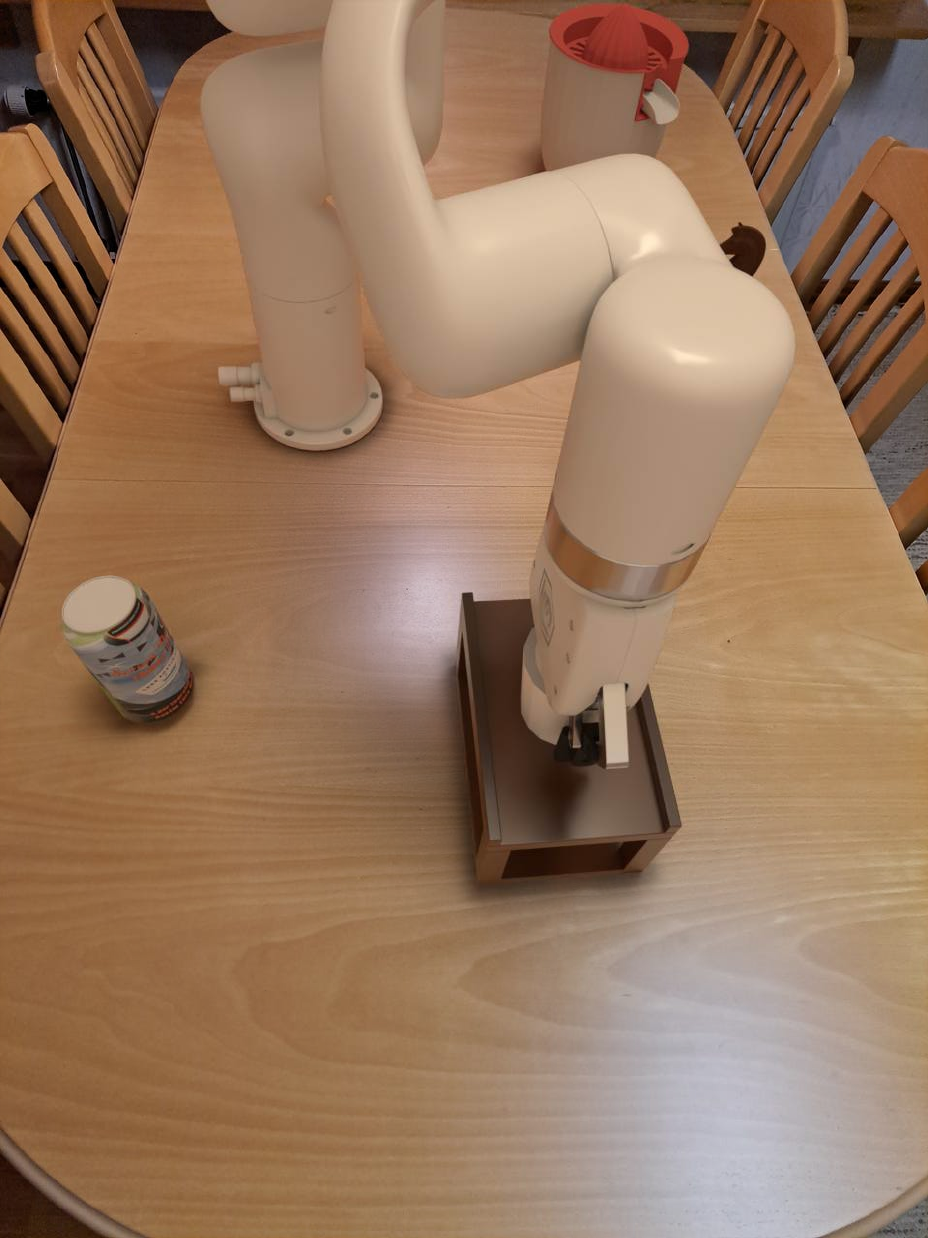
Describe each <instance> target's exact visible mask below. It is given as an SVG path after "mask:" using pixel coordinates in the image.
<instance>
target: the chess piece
mask: <svg viewBox="0 0 928 1238" xmlns="http://www.w3.org/2000/svg"><path fill="white" fill-rule="evenodd" d="M737 224H738V225H737V226H733V227H731V229H730V231H731V235H730V237H728V238H726V239H725V240H724V241H722V242H721V243H719V245H720V247H721V249H722V250H723V252H724V253H725V255H726V256H732V257H730V258H728V259H729V261H730V262H731V264H732V265H733V267H734V268H736V269H738V270H740V271H742V272H745V273H747V274H748V275H750V276H752V277H753V278H754V275H755V273H756V272H757V271H758V269H759V268H760V266H761V264H762V262H763V260H764V258H765V255H766V250H767V241H766V237H765V236H764V233H762V232H761V231H760V230H759V229H757V228H755V227H753V226H751V225H744V224H743V223H741V221H738V222H737Z"/></svg>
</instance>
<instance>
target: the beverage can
mask: <svg viewBox="0 0 928 1238" xmlns="http://www.w3.org/2000/svg"><path fill="white" fill-rule="evenodd" d="M61 618H62V620H61V629H62V630H61V631H62V635H63V637H64V639H65V641H66V642H67V644H68V645H69V646H70V648H71V649H72V650H73V652H74V653H75V655H76V656H77V657H78V659H79V660H80V661H81V662H82V664H83V665H84V667H85V668H86V669H87V670H88V672H89V673H90V675H91V676H92V677H93V679H94V680H95V682H96V683H97V684H98V686H99V687H100V688H101V690H102V692H104V694H105V695H106V696H107V698H108V699H109V700H110V702H111V704H113V706H114V707H115V709H116V710H117V711H118V712H119V714H120V715H121V716H122V717H123V718H125V719H126V720H127V721H130V722H133V723H137V724H152V723H158V722H160V721H163V720H166V719H168V718H170V717H172V716H173V715H175V714H176V713H177V712H179V710H181V709H182V708H183V707H184V706H185V705H186V704H187V702H188V700H189V699H190V698H191V696H192V693H193V691H194V685H195V678H194V674H193V672H192V670H191V668H190V666H189V665H188V662H187V661H186V659H185V657H184V655H183V654H182V653H181V650H180V649H179V647H178V645H177V643H176V642H175V640H174V638H173V636H172V635H171V633H170V630H169V629H168V628H167V626H166V624H165V622H164V620H163V619H162V617H161V616H160V613H159V612H158V610H157V608H156V607H155V605H154V603H153V601H152V599H151V598H150V596H149V594H148V593H147V592H146V591H145V590H144V588H142V587H140V586H138V585H137V584H135V583H133V582H131V581H129V580H127V579H126V578H123V577H121V576H117V575H102V576H97V577H94V578H91V579H89V580H86V581H84V582H83V583H81V584H79V585H78V586H76V587H75V588H74V589H73V590H72V591H71V592H70V593H69V594H68V595H67V597H66V598H65V600H64V602H63V604H62V607H61Z"/></svg>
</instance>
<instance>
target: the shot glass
mask: <svg viewBox="0 0 928 1238" xmlns="http://www.w3.org/2000/svg"><path fill="white" fill-rule="evenodd" d="M521 714H522V716H523V718H524V720H525V722H526V724H527V726H528V728H529V729H530V730H531V731H532V732H533V733H535V734H536V735H537V736H538V737H539V738H540V739H542V740H545V741H547V742H550V743H552V744H555V745H556V744H557V741H558V738H559V736H560V733H561V730H562V728H563V727H565V726H569V716H561V715H557V714H556V713H555V712H554V711H553V710H552V709H551V707H550V705H549V703H548V700H547V696H546V692H545V687H544V681H543V676H542V670H541V664H540V658H539V652H538V646H537V640H536V633H535V627H533V628H532V629H531V631H530V633H529V636H528V638H527V640H526V642H525V644H524V649H523V668H522V686H521ZM592 722H599V717H598V710H589V711H583V723H592Z"/></svg>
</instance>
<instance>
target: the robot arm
mask: <svg viewBox="0 0 928 1238" xmlns="http://www.w3.org/2000/svg"><path fill="white" fill-rule="evenodd" d="M446 1H447V0H205V2H206V4H207V6H208V8H209V9H210V12H211V13H212V14H213V16H214V17H215V19H216V20H217V21H218V22H219V23H221V24H222V25H223V26H224V27H225V28H226V29H228V30H230V31H231V32H234V33H236V34H239V35H244V36H251V37H269V36H272V37H273V36H280V35H288V34H296V33H301V32H307V31H308V32H309V31H313V30H318V29H323V28H325V30H324V37H322V38H316V39H313V38H311V39H306V40H299V41H295V42H291V43H286V44H285V43H284V44H279V45H275V46H269V47H263V48H258V49H254V50H251V51H247V52H244V53H241V54H239V55H236V56H234V57H231V58H229V59H227V60H225V61H224V62H222V63H221V64H219V65H218V66H217V67H216V68H214V69H213V70H212V71H211V72H210V74H209V75H208V76H207V78H206V79H205V81H204V83H203V85H202V88H201V91H200V96H199V97H200V98H199V114H200V120H201V125H202V130H203V132H204V137H205V140H206V144H207V146H208V149H209V152H210V156H211V158H212V161H213V163H214V166H215V168H216V172H217V174H218V177H219V179H220V183H221V185H222V188H223V191H224V194H225V197H226V200H227V203H228V207H229V211H230V215H231V217H232V221H233V225H234V229H235V233H236V234H235V235H236V237H237V238H236V239H237V242H238V243H237V244H238V247H239V252H240V256H241V262H242V267H243V271H244V276H245V281H246V285H247V286H246V287H247V292H248V297H249V298H248V299H249V303H250V307H251V313H252V317H253V323H254V329H255V333H256V339H257V343H258V350H259V354H260V362H259V361H258V362H251V366H238V365H222V366H221V365H220V366H218V367H217V368H218V369H217V376H218V384H219V387H220V388H226V387H227V388H228V387H229V397H230V401H231V403H239V402H240V403H241V402H242V403H243V402H244V403H245V402H252V401H253V407H254V413H255V416H256V420H257V422H258V424H259V425H260V427H261V429H262V430H264V432H266V434H267V435H268V436H270V438H272V439H274V440H275V441H277V442H278V443H281V444H283V445H285V446H288V447H291V448H294V449H298V450H305V451H328V450H334V449H335V450H336V449H340V448H343V447H346V446H348V445H351V444H353V443H355V442H357V441H359V440H361V439H362V438H363V437H365V436H366V435H367V434H369V433H370V432H371V431H372V429H373V428H374V427H375V426H376V425H377V424H378V422H379V420H380V418H381V415H382V412H383V400H384V399H383V391H382V388H381V385H380V383H379V381H378V379H377V378H376V377H375V375H374V373H372V371H370V370H369V369H368V368H367V367H366V360H365V343H364V342H365V341H364V327H363V310H362V293H361V288H362V292H363V294H364V297H365V300H366V303H367V305H368V308H369V311H370V314H371V317H372V320H373V321H374V323H375V326H376V328H377V331H378V333H379V335H380V338H381V340H382V342H383V345H384V346H385V349H386V350H387V352H388V354H389V356H390V357H391V360H392V361H393V363H394V364H395V365H396V367H397V369H398V370H399V371H400V373H401V374H402V375H403V376H404V377H405V378H406V379H407V380H408V381H409V383H410V384H411V385H413V386H414V387H416V388H417V389H418V390H420V391H422V392H424V393H426V394H428V395H429V396H432V397H434V398H439V399H444V400H457V399H460V400H461V399H467V398H468V399H469V398H473V397H477V396H480V395H484V394H487V393H490V392H493V391H496V390H500V389H503V388H505V387H508V386H511V385H513V384H517V383H519V382H520V383H521V382H523V381H525V380H528V379H532V378H534V377H537V376H539V375H542V374H546V373H549V372H550V371H553V370H557V369H560V368H562V367H565V366H568V365H571V364H574V363H578V362H579V365H578V371H577V375H576V380H575V383H574V389H573V393H572V398H571V403H570V408H569V411H568V412H569V413H568V417H567V421H566V426H565V430H564V434H563V439H562V444H561V448H560V452H559V456H558V459H557V460H558V461H557V465H556V470H555V474H554V480H553V484H552V489H551V493H550V498H549V503H548V507H547V512H546V516H545V520H544V524H543V527H542V531H541V534H540V537H539V539H538V542H537V543H538V544H537V547H536V550H535V554H534V557H533V561H532V565H531V568H530V573H529V580H528V582H529V583H528V585H529V599H531V607H532V614H533V620H534V624H533V627H535V633H536V640H537V646H538V652H539V658H540V664H541V670H542V676H543V681H544V687H545V692H546V696H547V700H548V703H549V705H550V707H551V709H552V710H553V711H554V712H555V713H556V714H557V715H561V716H569V726H565V727H563V728H562V730H561V733H560V736H559V738H558V741H557V744H556V746H555V749H554V752H553V755H554V761H555V762H567V761H571V764H572V766H575V767H583V766H591V765H594V764H596V763H597V765H599V766H600V767H602V768H603V769H617V768H628V766H629V749H628V729H627V711H628V710H630V709H631V708H632V707H633V706H634V705H635V704H636V703H637V701H638V700H639V698H640V697H641V695H642V694H643V692H644V690H645V688H646V686H647V684H649V683H650V680H651V678H652V675H653V673H654V670H655V668H656V665H657V663H658V660H659V658H660V656H661V652H662V650H663V647H664V644H665V641H666V637H667V634H668V632H669V628H670V625H671V621H672V617H673V614H674V610H675V605H676V601H677V600H676V599H677V593H678V592H679V591H680V590H682V588H684V586H685V585H686V584H687V583H688V582H689V579H690V578H691V575H692V574H693V572H694V571H695V568H696V566H697V564H698V562H699V560H700V558H701V557H702V555H703V552H704V550H705V549H706V546H707V544H708V542H709V540H710V538H711V537H712V533H713V531H714V529H715V528H716V526H717V524H718V522H719V520H720V518H721V516H722V514H723V512H724V510H725V508H726V506H727V505H728V502H729V500H730V498H731V497H732V494H733V492H734V490H735V488H736V487H737V485H738V482H739V480H740V478H741V477H742V474H743V473H744V470H745V469H746V466H747V465H748V462H749V461H750V459H751V457H752V455H753V453H754V451H755V448H757V447H756V446H757V445H758V443H759V441H760V439H761V438H762V435H763V433H764V431H765V430H766V429H765V428H766V427H767V425H768V423H769V421H770V419H771V417H772V415H773V413H774V411H775V409H776V407H777V405H778V403H779V401H780V399H781V397H782V396H783V393H784V391H785V388H786V386H787V383H788V381H789V379H790V376H791V374H792V372H793V368H794V364H795V359H796V358H795V357H796V351H797V345H796V344H797V343H796V342H797V341H796V333H795V329H794V326H793V323H792V320H791V318H790V313H788V310H787V309H786V307H785V306H784V304H783V303H782V301H781V300H780V299H779V298H778V297H777V296H776V295H775V293H773V291H771V290H770V289H769V288H768V287H767V286H766V285H764V284H763V283H762V282H761V281H760V280H758V279H756V278H755V277H754V276H753V277H752V276H750V275H748V274H747V273H745V272H742V271H740V270H738V269H736V268H734V267H733V265H732V264H731V262H730V261H729V259H730V258H728V255H725V253H724V252H723V250H722V249H721V247H720V243H719V242H718V239H717V238H716V237H715V235H714V233H713V231H712V229H711V228H710V226H709V224H708V222H707V221H706V219H705V217H704V215H703V213H702V212H701V210H700V208H699V207H698V204H697V203H696V201H695V200H694V198H693V197H692V195H691V194H690V193H691V192H689V190H688V189H687V188H686V186H685V185H684V183H683V182H682V180H681V179H680V178H679V176H677V174H676V173H675V172H674V171H673V170H672V169H671V167H669V166H668V165H666V164H665V163H664V162H662V161H661V160H659V159H656V157H655V158H652V157H650V156H647V155H641V154H635V153H633V154H618V155H613V156H608V157H604V158H600V159H595V160H592V161H588V162H584V163H580V164H577V165H573V166H569V167H565V168H562V169H558V170H554V171H550V172H549V171H545V172H544V171H542V172H538V173H533V174H531V175H527V176H523V177H519V178H515V179H512V180H508V181H504V182H500V183H496V184H493V185H489V186H485V187H482V188H481V187H480V188H478V189H474V190H470V191H466V192H462V193H459V194H454V195H450V196H448V197H444V198H440V199H438V200H436V199H435V197H434V194H433V191H432V189H431V186H430V185H431V184H430V182H429V180H428V177H427V174H426V170H425V168H424V166H426V165H427V164H428V163H429V162H430V161H431V160H432V159H433V157H434V155H435V154H436V152H437V150H438V147H439V145H440V141H441V135H442V128H443V120H444V119H443V118H444V100H445V99H444V98H445V56H446V55H445V54H446V53H445V51H446V8H447V7H446V4H447V3H446ZM330 196H331V198H332V203H333V205H332V204H331V203H330V202H329V201H328V199H327V198H329V197H330ZM244 386H252V387H244ZM589 710H598V717H599V722H592V723H583V711H589Z"/></svg>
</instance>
